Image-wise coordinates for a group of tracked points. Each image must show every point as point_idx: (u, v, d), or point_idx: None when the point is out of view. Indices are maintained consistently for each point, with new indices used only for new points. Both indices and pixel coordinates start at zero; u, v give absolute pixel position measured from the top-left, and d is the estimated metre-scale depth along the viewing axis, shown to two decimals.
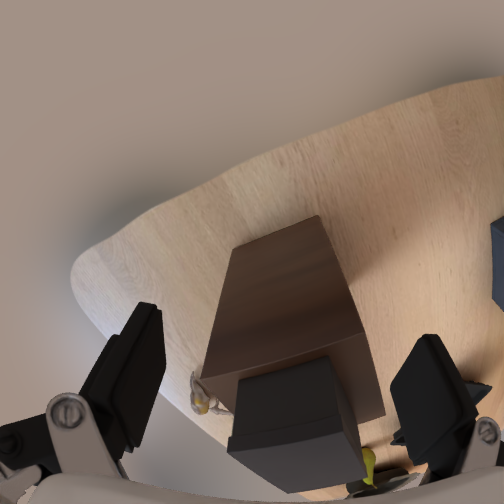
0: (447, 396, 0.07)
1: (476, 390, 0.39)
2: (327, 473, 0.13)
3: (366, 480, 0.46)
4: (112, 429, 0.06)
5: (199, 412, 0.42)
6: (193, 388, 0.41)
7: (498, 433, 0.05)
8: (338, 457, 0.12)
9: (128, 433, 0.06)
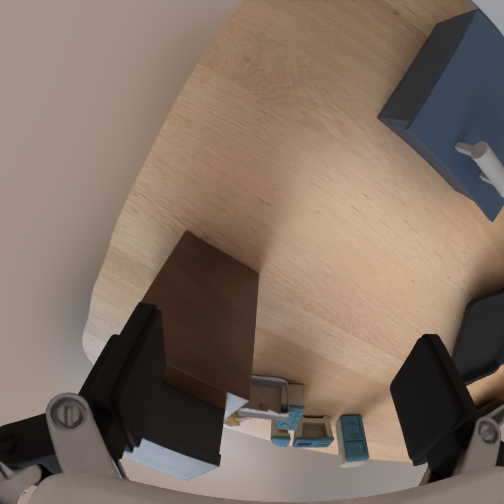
0: (447, 396, 0.07)
1: None
2: (163, 458, 0.16)
3: None
4: (112, 429, 0.06)
5: (230, 425, 0.45)
6: None
7: (498, 433, 0.05)
8: None
9: (128, 433, 0.06)
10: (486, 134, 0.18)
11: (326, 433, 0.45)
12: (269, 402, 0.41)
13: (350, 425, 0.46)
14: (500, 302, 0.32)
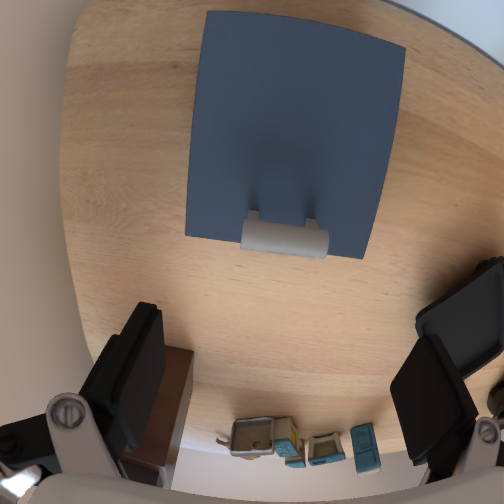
0: (447, 396, 0.07)
1: (485, 279, 0.28)
2: None
3: None
4: (112, 429, 0.06)
5: (248, 459, 0.48)
6: (228, 447, 0.49)
7: (498, 433, 0.05)
8: None
9: (128, 433, 0.06)
10: (289, 173, 0.19)
11: (337, 449, 0.45)
12: (261, 439, 0.43)
13: (360, 436, 0.45)
14: (468, 294, 0.29)
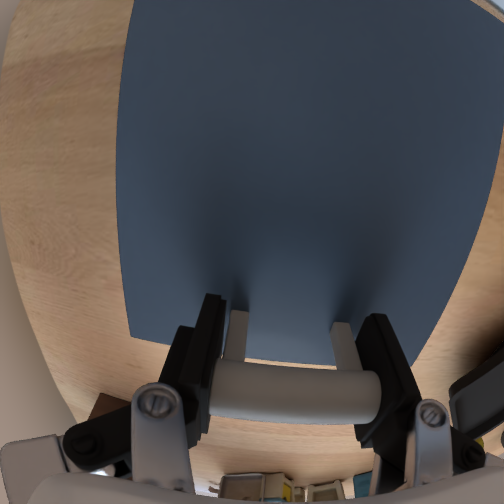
0: (387, 374, 0.07)
1: None
2: None
3: None
4: (197, 414, 0.06)
5: None
6: None
7: (445, 413, 0.06)
8: None
9: (204, 419, 0.07)
10: (309, 248, 0.10)
11: (338, 498, 0.36)
12: (252, 495, 0.35)
13: (363, 485, 0.35)
14: None
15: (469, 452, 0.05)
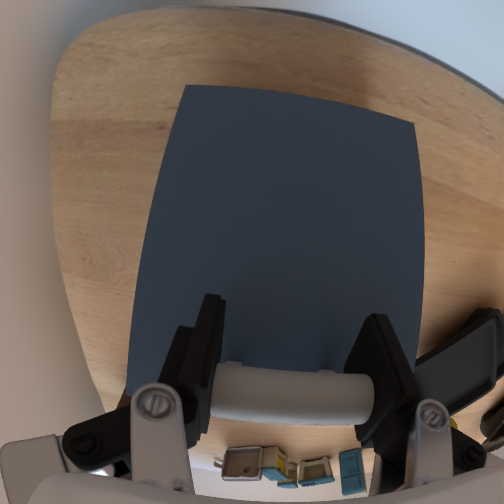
0: (387, 374, 0.07)
1: None
2: None
3: None
4: (196, 414, 0.06)
5: None
6: None
7: (446, 413, 0.06)
8: None
9: (203, 419, 0.07)
10: (289, 299, 0.13)
11: (325, 472, 0.45)
12: (251, 466, 0.44)
13: (347, 461, 0.45)
14: None
15: (469, 452, 0.05)
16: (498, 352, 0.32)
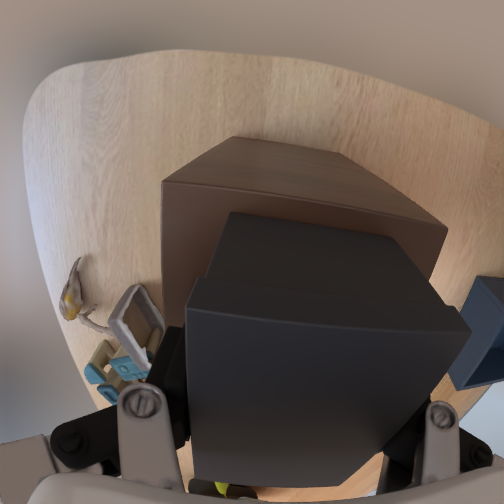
0: None
1: None
2: (314, 459, 0.07)
3: (220, 488, 0.43)
4: (183, 415, 0.06)
5: (65, 314, 0.31)
6: (71, 279, 0.31)
7: (454, 415, 0.06)
8: (383, 420, 0.06)
9: None
10: None
11: None
12: (136, 336, 0.31)
13: None
14: None
15: (477, 453, 0.05)
16: None
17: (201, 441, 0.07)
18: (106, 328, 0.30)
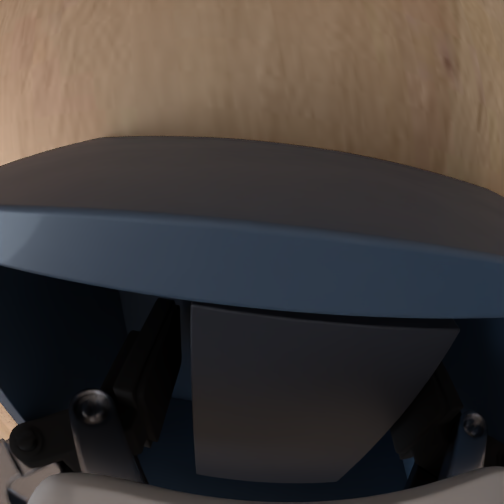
0: (431, 388, 0.07)
1: None
2: (312, 453, 0.07)
3: None
4: (135, 423, 0.06)
5: None
6: None
7: (485, 426, 0.05)
8: (377, 415, 0.06)
9: (149, 427, 0.07)
10: None
11: None
12: None
13: None
14: None
15: (503, 457, 0.04)
16: None
17: (203, 435, 0.07)
18: None
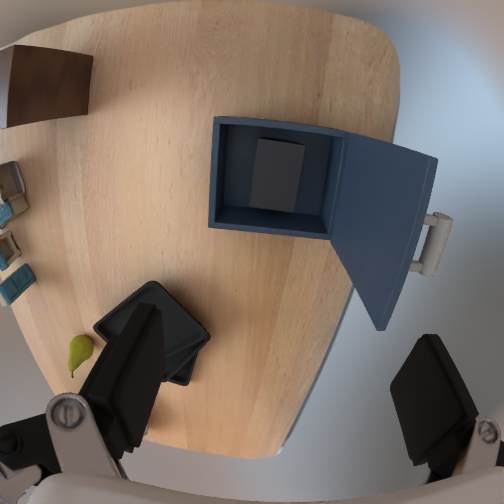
0: (447, 396, 0.07)
1: (191, 327, 0.50)
2: (282, 185, 0.36)
3: (69, 364, 0.50)
4: (112, 429, 0.06)
5: None
6: None
7: (498, 433, 0.05)
8: (294, 168, 0.35)
9: (128, 433, 0.06)
10: None
11: (8, 259, 0.46)
12: (5, 190, 0.39)
13: (24, 274, 0.49)
14: (177, 317, 0.49)
15: None
16: (167, 359, 0.57)
17: (255, 176, 0.35)
18: None
